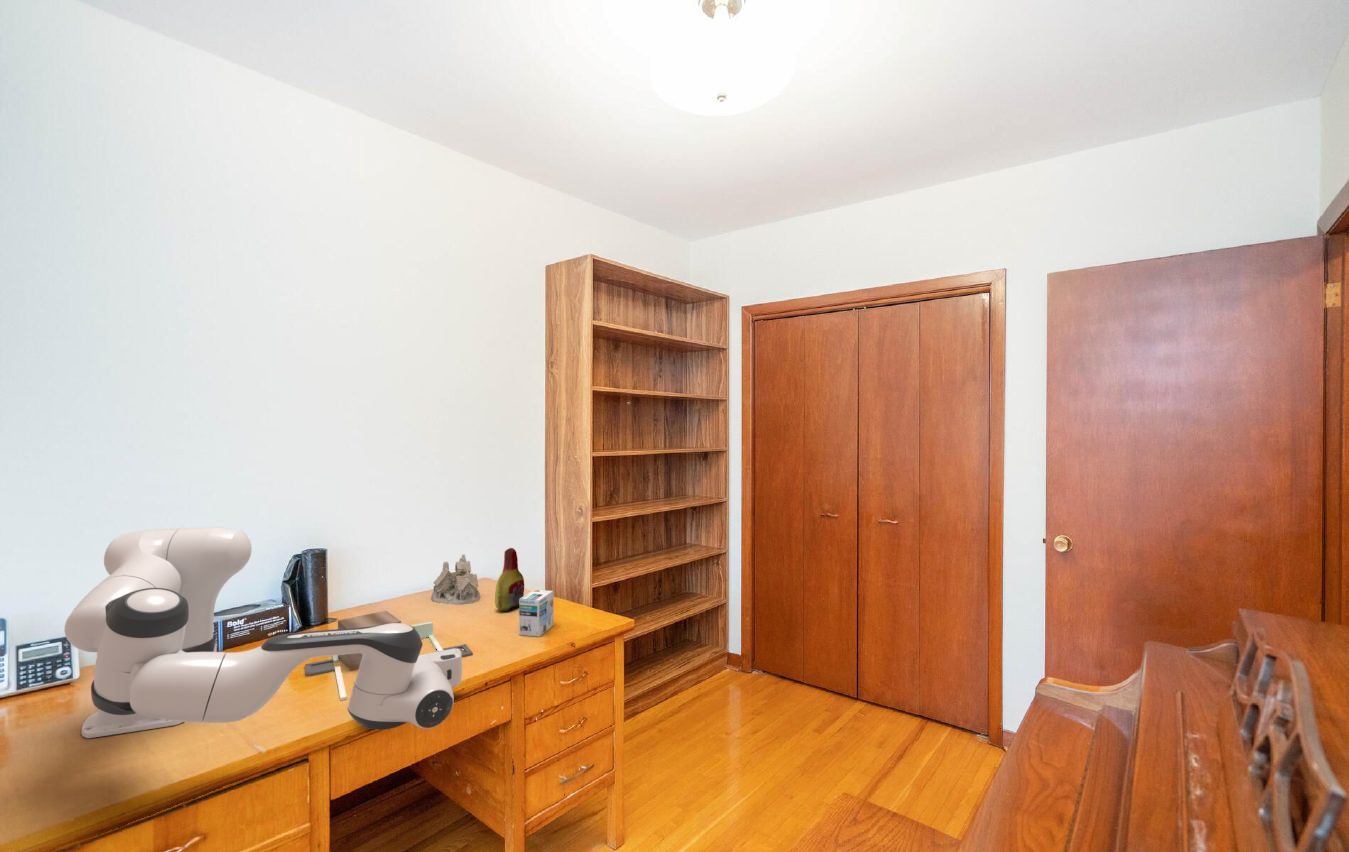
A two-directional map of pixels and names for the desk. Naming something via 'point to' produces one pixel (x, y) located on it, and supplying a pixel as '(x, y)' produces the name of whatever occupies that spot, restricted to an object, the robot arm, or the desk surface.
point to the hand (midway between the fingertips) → (407, 656)
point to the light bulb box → (536, 613)
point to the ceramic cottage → (456, 584)
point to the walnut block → (357, 622)
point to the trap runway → (328, 666)
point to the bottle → (509, 583)
